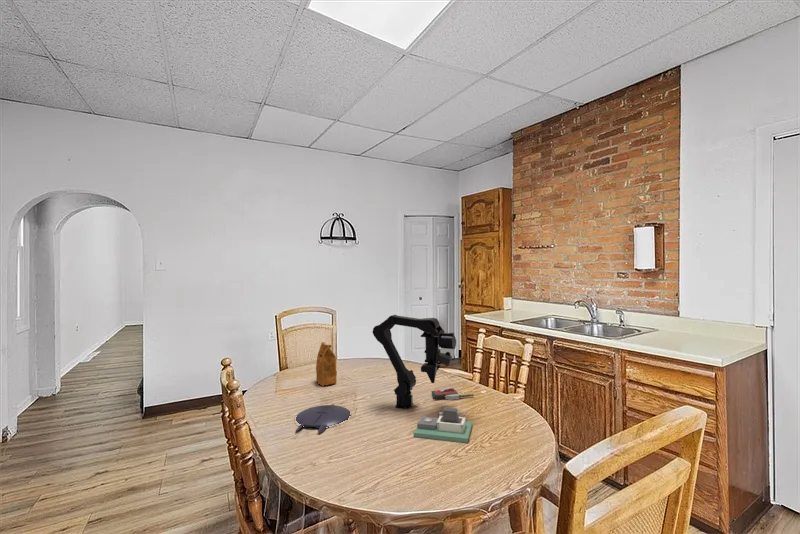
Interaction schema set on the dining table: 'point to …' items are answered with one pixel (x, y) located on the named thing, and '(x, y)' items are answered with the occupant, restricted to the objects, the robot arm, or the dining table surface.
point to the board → (443, 429)
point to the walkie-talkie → (447, 394)
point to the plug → (450, 415)
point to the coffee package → (326, 366)
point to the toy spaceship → (322, 416)
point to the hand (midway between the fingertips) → (432, 382)
